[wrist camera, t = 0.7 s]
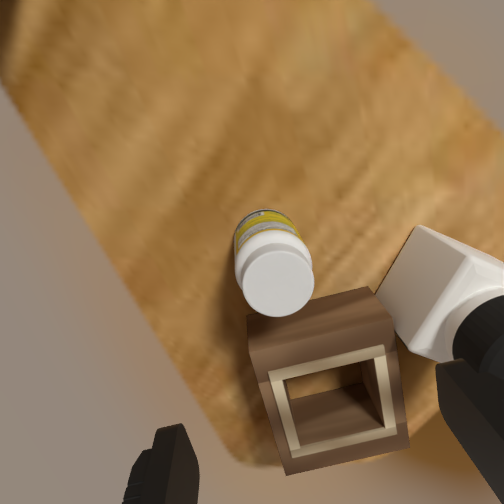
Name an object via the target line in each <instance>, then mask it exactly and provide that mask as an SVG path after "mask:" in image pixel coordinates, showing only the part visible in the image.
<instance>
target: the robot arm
mask: <svg viewBox="0 0 504 504" xmlns="http://www.w3.org/2000/svg"><path fill="white" fill-rule="evenodd" d="M435 370H436V381H437V392H438V402H439V407H440V410H441V413H442V415H443V418H444V420H445V421H446V423H447V425H448V426H449V428H450V429H451V431H452V432H453V434H454V435H455V437H456V438H457V439H458V441H459V442H460V444H461V445H462V447H463V448H464V450H465V451H466V452H467V454H468V455H469V457H470V458H471V460H472V461H473V462H474V464H475V465H476V467H477V468H478V470H479V471H480V473H481V474H482V476H483V477H484V478H485V480H486V481H487V483H488V484H489V486H490V487H491V488H492V490H493V491H494V493H495V494H496V496H497V497H498V499H499V500H500V502H501V503H502V504H504V380H502V379H500V378H498V377H496V376H494V375H493V374H491V373H489V372H483V373H477V372H476V371H475V370H474V369H473V368H472V367H471V366H470V365H469V364H468V363H467V362H466V361H465V360H464V359H456V360H452V361H448V362H444V363H439V364H437V365H436V368H435ZM198 490H199V465H198V460H197V457H196V455H195V452H194V450H193V447H192V445H191V442H190V440H189V437H188V435H187V433H186V430H185V428H184V426H183V424H181V423H180V424H176V425H171V426H167V427H163V428H159V429H157V431H156V434H155V438H154V442H153V446H152V449H147V450H143V451H142V453H141V454H140V456H139V457H138V459H137V461H136V462H135V464H134V465H133V467H132V470H131V473H130V477H129V480H128V487H127V488H126V491H125V495H124V498H123V499H124V502H122V504H197V501H198Z"/></svg>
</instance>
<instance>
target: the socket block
mask: <svg viewBox="0 0 504 504" xmlns="http://www.w3.org/2000/svg"><path fill="white" fill-rule="evenodd" d="M246 318H247V332H248V346H249V354H250V358H251V361H252V364H253V368H254V371H255V374H256V378H257V381H258V384H259V388H260V391H261V394H262V398H263V401H264V404H265V408H266V411H267V414H268V418H269V421H270V424H271V428H272V431H273V434H274V438H275V441H276V444H277V448H278V451H279V454H280V458H281V461H282V464H283V468H284V471H285V474H286V476H288V475H292V474H296V473H301V472H305V471H310V470H314V469H318V468H323V467H327V466H332V465H336V464H340V463H345V462H349V461H354V460H358V459H362V458H367V457H371V456H376V455H380V454H384V453H389V452H393V451H398V450H402V449H406V448H410V443H409V436H408V428H407V421H406V413H405V406H404V398H403V391H402V383H401V376H400V369H399V361H398V354H397V346H396V339H395V331H394V324H393V318H392V316H391V315H390V314H389V313H388V311H387V310H386V309H385V307H384V306H383V305H382V304H381V302H380V301H379V300H378V299H377V297H376V296H375V295H374V293H373V292H372V291H371V290H370V288H369V287H368V286H366V287H362V288H358V289H354V290H350V291H346V292H342V293H338V294H334V295H330V296H326V297H321V298H317V299H313V300H309V301H308V302H307V303H306V304H305V305H304V306H303V307H302V308H301V309H300V310H298V311H297V312H295V313H293V314H290V315H287V316H282V317H271V316H267V315H264V314H261V313H256V314H252V315H248V316H246ZM356 362H360V367H361V373H362V379H363V383H361V384H356V385H352V386H348V387H343V388H339V389H335V390H331V391H326V392H322V393H318V394H314V395H309V396H305V397H301V398H297V399H292V400H291V399H290V396H289V392H288V388H287V384H286V381H285V379H288V378H292V377H297V376H301V375H305V374H309V373H313V372H318V371H322V370H326V369H330V368H334V367H339V366H343V365H347V364H351V363H356Z"/></svg>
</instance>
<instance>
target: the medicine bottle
mask: <svg viewBox="0 0 504 504" xmlns="http://www.w3.org/2000/svg"><path fill="white" fill-rule="evenodd" d="M375 296H376V297H377V299H378V300H379V301H380V302H381V304H382V305H383V306H384V307H385V309H386V310H387V311H388V313H389V314H390V315H391V316H392V318H393V324H394V331H395V333H396V334H397V335H398V337H399V338H400V339H401V341H402V342H403V343H404V345H405V346H406V347H407V349H408V350H409V351H411V352H413V353H415V354H418V355H421V356H423V357H426V358H429V359H432V360H434V361H437V362H440V363H444V362H448V361H452V360H456V359H464V360H465V361H466V362H467V363H468V364H469V365H470V366H471V367H472V368H473V369H474V370H475V371H476V372H477V373H483V372H489V373H491V374H493V375H494V376H496V377H498V378H500V379H502V380H504V263H503V262H502V261H500V260H498V259H496V258H494V257H493V256H491V255H488V254H486V253H484V252H482V251H479V250H477V249H475V248H473V247H470V246H468V245H466V244H463V243H461V242H459V241H457V240H454V239H452V238H450V237H448V236H445V235H443V234H441V233H438V232H436V231H434V230H432V229H429V228H427V227H425V226H423V225H417V226H416V227H415V228H414V230H413V231H412V233H411V235H410V236H409V238H408V240H407V241H406V243H405V245H404V247H403V248H402V250H401V252H400V253H399V255H398V257H397V258H396V260H395V262H394V264H393V265H392V267H391V269H390V270H389V272H388V274H387V275H386V277H385V279H384V281H383V282H382V284H381V286H380V287H379V289H378V291H377V292H376V294H375Z"/></svg>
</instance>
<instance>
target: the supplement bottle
mask: <svg viewBox="0 0 504 504" xmlns="http://www.w3.org/2000/svg"><path fill="white" fill-rule="evenodd" d="M234 257H235V276H236V280H237V282H238V285H239V286H240V288H241V289H242V291H243V294H244V297H245V299H246V301H247V302H248V304H249V305H250V306H251V307H252V308H253V309H254V310H256V311H257V312H259V313H261V314H264V315H267V316H271V317H282V316H287V315H290V314H293V313H295V312H297V311H298V310H300V309H301V308H302V307H303V306H304V305H305V304H306V303H307V302H308V300H309V299H310V297H311V295H312V292H313V289H314V276H313V272H312V260H311V256H310V253H309V250H308V248H307V247H306V245H305V243H304V242H303V240H302V238H301V237H300V235H299V233H298V231H297V230H296V228H295V226H294V225H293V223H292V222H291V220H290V219H289V218H288V217H287V216H286V215H284V214H283V213H281V212H279V211H276V210H272V209H261V210H256V211H254V212H251V213H250V214H248V215H247V216H245V217H244V218H243V219H242V220H241V221H240V223H239V224H238V226H237V228H236V231H235V234H234Z"/></svg>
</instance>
